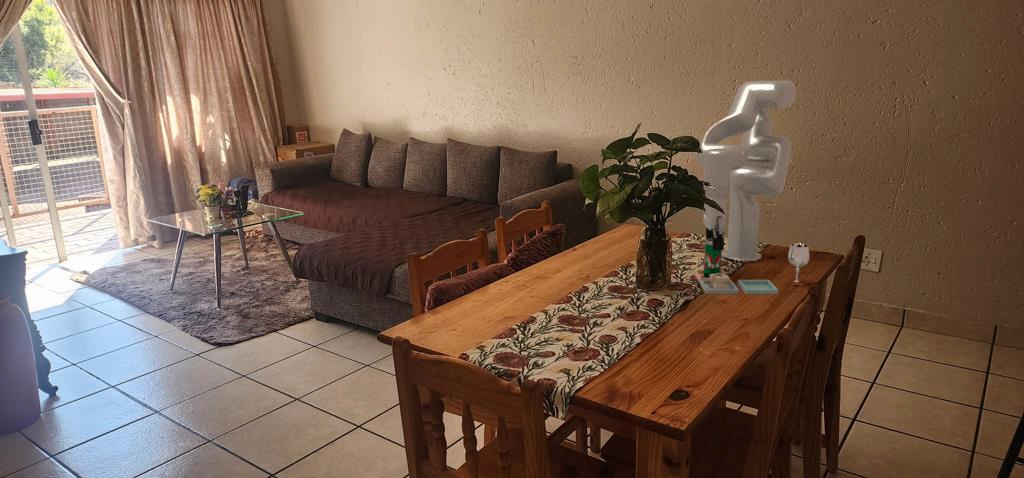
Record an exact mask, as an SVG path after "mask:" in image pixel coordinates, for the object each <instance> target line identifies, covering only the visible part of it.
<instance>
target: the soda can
mask: <svg viewBox="0 0 1024 478" xmlns="http://www.w3.org/2000/svg"><path fill="white" fill-rule="evenodd" d="M712 246H713V238H710V239H707V240H706V239H705V242H704V255H703V257H704V258H703V269H702V270H703V276H704V277H705V278H710V274H717V273H721V270H722V258H723V257H722V253H723V250H716V251H714V250H713V249H712Z"/></svg>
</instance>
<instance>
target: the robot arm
mask: <svg viewBox="0 0 1024 478" xmlns="http://www.w3.org/2000/svg"><path fill="white" fill-rule="evenodd" d="M796 96H797V88H796V84H795V83H794V82H793V81H792V80H754V81H753V80H752V81H745V82H743V83H742V84H741V85H740V86H739V87H738V88H737V91H736V94H735V96H734V98H733V101H732V104H731V107H730V108H729V112H728V114H727V116H725V117H723V118H722V119H720V120H719V121H717V122H716V123H715V124H713V125H712V126H711V127H710V128H709V129H707V131H706V132H705V134H704V135H703V137H702V139H701V143H700V145H699V147H700V149H701V151H702V153H698V152H697V161H698V163H699V166H701V167H703V183H704V182H708V183H710V184H709V185H711V186H706V185H704V184H703V188H704V190H705V196H706V197H707V198H708V199H710V200H713V201H715V202H716V203H717V204H718V205H719V206H720V207H721V208H722V209H723V211H724V213H725V214H723V213H722V212H720V211H718V210H716V209H715V208H712V207H710V206H709V205H707V204H704V205H703V209H704V208H705V212H704V211H703V216H702V217H703V218H702V223H703V224H704V226H705V227H706V228H705V241H706V240H707V239H710V238H713V246H712V249H713V250H714V251H716V250H722V256H723V257H726V258H729V259H734V260H744V261H755V262H758V261H757V260H759V259H760V260H761V259H762V254H761V253H760V252H758V239H759V238H758V236H759V223H760V211H761V210H760V209H761V208H760V204H759V202H758V200H757V199H756V197H755V196H764V197H778V196H780V195H781V194H782V192H783V190H784V188H785V183H786V181H787V175H788V170H789V165H790V161H791V155H792V143H791V140H790V139H789V138H788V137H786V136H783V135H772V130H773V126H774V124H773V122H774V121H773V120H772V118H771V117H770V115H769V114H768V112H767V111H766V110H765V109H777V110H778V109H786V108H789V107H791V106H792V105H793V103H794V102H795V100H796ZM741 134H743V136H742V138H741V144H733V143H732V144H731V143H730V144H729V143H720V142H722V141H724V140H725V139H728V138H732V137H735V136H738V135H741ZM746 163H747V164H746ZM753 164H755V165H753ZM764 165H765V166H764ZM766 165H767V166H766ZM769 165H770V166H769ZM714 186H715V187H714ZM705 196H704V197H705ZM728 197H729V214H728V215H729V216H728V228H727V229H728V231H727V246H726V250H724V249H725V231H724V230H725V229H726V226H727V224H726V223H727V198H728ZM723 257H722V258H723ZM760 260H759V261H760Z"/></svg>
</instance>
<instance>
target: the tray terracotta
mask: <svg viewBox="0 0 1024 478" xmlns="http://www.w3.org/2000/svg"><path fill="white" fill-rule="evenodd" d="M703 270H704V269H693V275H694V276H695V278H696V279H698V280H697V281H698V283H699V284H700V280H710V278H701V276H700V275H699V274H701V275H702V277H703ZM721 273H723V274H725V275H727V276H728V277H729V275H728V274H727V273H726V272H725V270H724V269H721ZM729 280H731V278H730V277H729Z"/></svg>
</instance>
